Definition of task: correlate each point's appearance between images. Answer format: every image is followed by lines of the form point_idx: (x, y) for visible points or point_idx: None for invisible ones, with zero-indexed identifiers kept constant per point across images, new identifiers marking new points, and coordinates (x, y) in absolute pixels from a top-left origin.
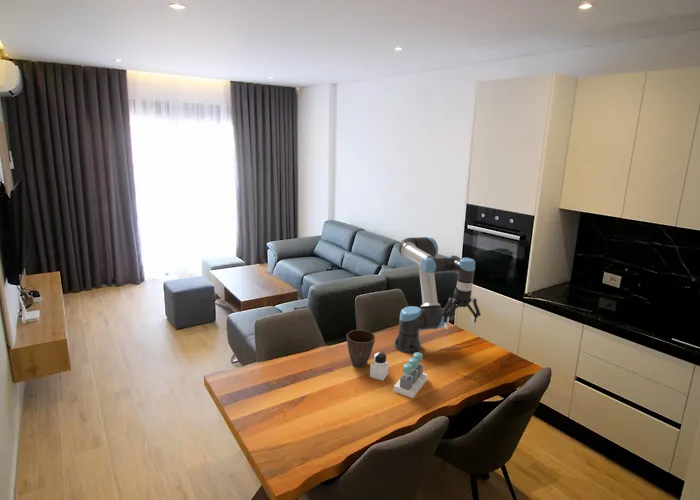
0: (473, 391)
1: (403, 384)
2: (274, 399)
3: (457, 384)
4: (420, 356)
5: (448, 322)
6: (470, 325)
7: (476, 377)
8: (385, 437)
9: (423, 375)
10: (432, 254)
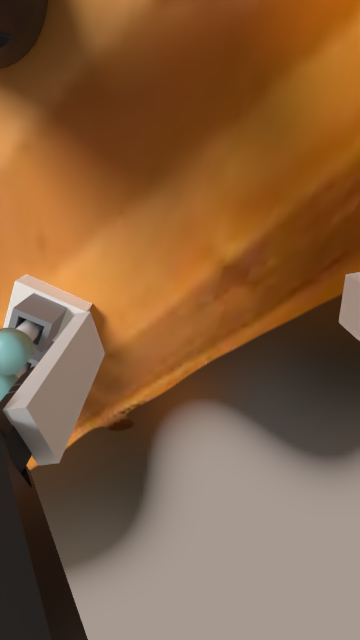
0: (226, 346)
1: None
2: None
3: (187, 318)
4: (14, 370)
5: (83, 403)
6: (356, 290)
7: (266, 270)
8: None
9: (71, 319)
10: None
